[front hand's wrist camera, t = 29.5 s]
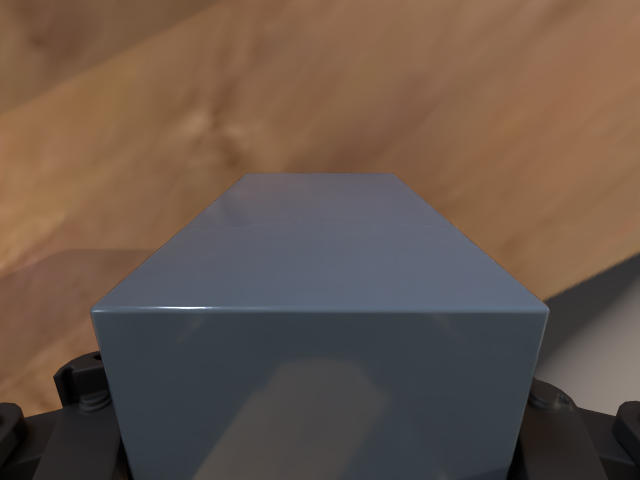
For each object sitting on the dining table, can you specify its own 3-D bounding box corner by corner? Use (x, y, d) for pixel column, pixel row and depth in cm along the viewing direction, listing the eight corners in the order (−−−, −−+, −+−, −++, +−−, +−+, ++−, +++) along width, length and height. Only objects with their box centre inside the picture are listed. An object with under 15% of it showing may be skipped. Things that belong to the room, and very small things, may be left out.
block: (382, 334, 18) (467, 641, 8) (257, 334, 18) (172, 641, 8) (393, 172, 16) (554, 308, 5) (245, 172, 16) (85, 308, 5)
